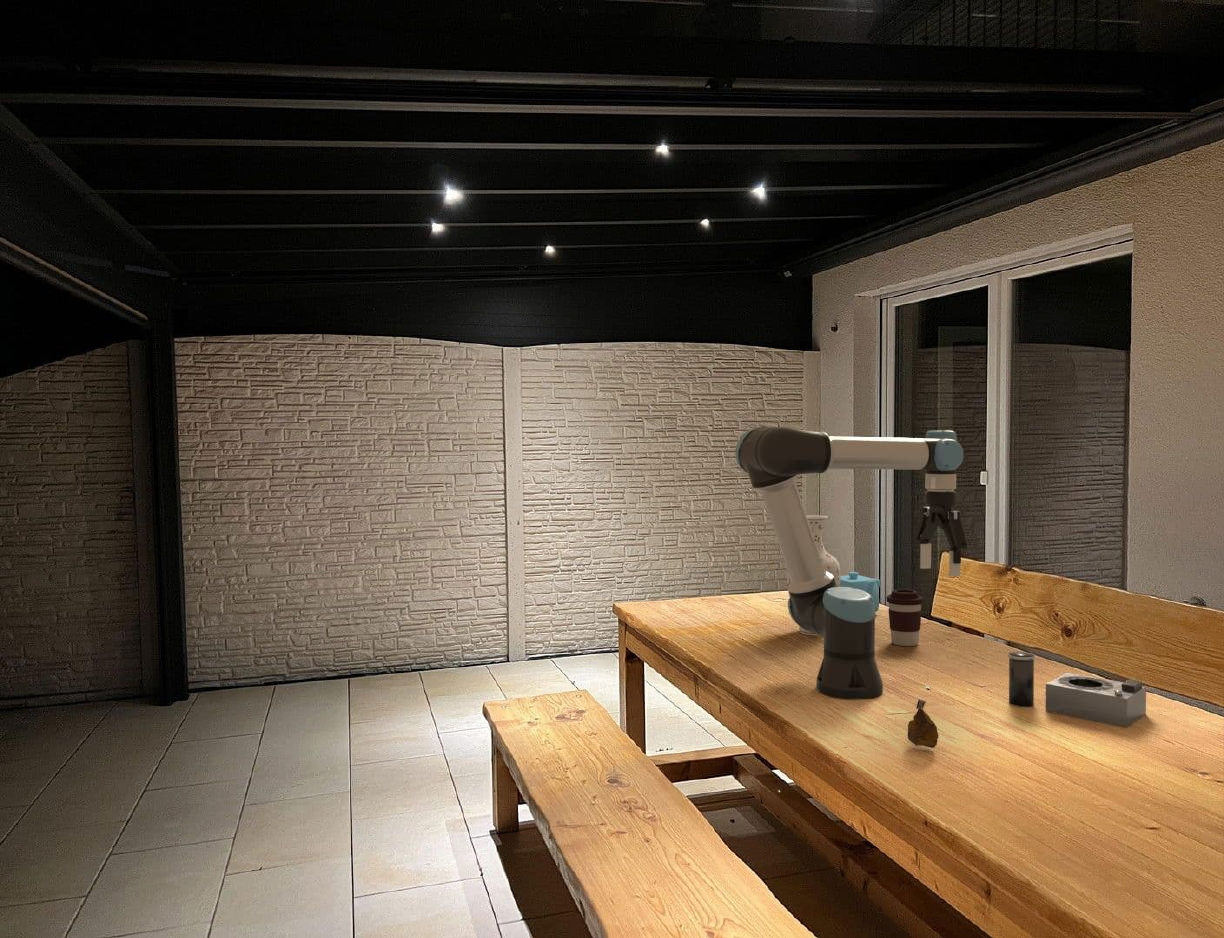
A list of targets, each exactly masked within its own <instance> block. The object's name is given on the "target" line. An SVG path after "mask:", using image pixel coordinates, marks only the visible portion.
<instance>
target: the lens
mask: <svg viewBox="0 0 1224 938" xmlns="http://www.w3.org/2000/svg"><path fill="white" fill-rule="evenodd" d="M1007 657H1008V677H1009V678H1008V682H1009V683H1008V702H1009V704H1010V705H1012V706H1015V707H1024V708H1025V707H1026V708H1028V707H1033V706H1034V703H1035V702H1034V700H1035V698H1034V696H1035V695H1034V694H1035V691H1034V690H1035V688H1034V687H1035V684H1034V683H1035V681H1034V680H1035V677H1034V676H1035V675H1034V674H1035V669H1034V668H1035V660H1036V655H1035V654H1034V653H1032V652H1026V651H1010V652H1008V654H1007Z"/></svg>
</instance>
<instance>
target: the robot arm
mask: <svg viewBox="0 0 1224 938" xmlns="http://www.w3.org/2000/svg"><path fill="white" fill-rule="evenodd" d="M734 455H735V460H736V463H737V464H738V466H739V468H740V469H741V470H742V471H744V472H745V473H747V474H748V478H749V481H750V483H751V486H752V488H753V490H755V491H758V492H760V493H761V496H762V499H763V502H764V504H765V508H766V510H767V513H768V516H769V518H770V522H771V525H772V527H773V531H774V533H775V537H776V539H777V542H778V545H779V548H780V551H781V554H782V557H783V560H784V563H785V567H786V570H787V569H788V572H789V575H790V578H791V583H790V584H789V586H788V585H787V592H788V591H789V593H788V595H789V594H790V596H789V598H788V600H787V610H788V613H789V615H790V619H792V621H793V622H794V623H795V624H796V625H798V627H799V626H800V627H802V628H803V629H804V630H807V631H809V632H812V633H815V634H817V635H816V636H820V637H823V658H822V661H821V664H820V667H819V670H818V674H817V677H816V681H815V683H816V690H817V692H818V693H821V694H823V695H825V696H828V697H833V698H838V699H849V700H852V699H853V700H862V699H863V700H864V699H866V700H867V699H872V698H876V697H879V696H881V695H882V694H883V692H884V691H883V689H884V687H883V686H884V684H883V683H884V682H883V679H882V676H881V674H880V671H879V667H878V664H877V661H876V658H875V657H876V655H875V654H876V649H875V648H876V642H875V641H876V637H875V636H876V635H875V634H876V632H875V631H876V629H875V628H876V625H875V624H876V622H875V621H876V612H877V611H876V612H875V605H874V599H873V597H872V596H871V595H870V594H869V593H867V592H865V591H863V590H860V589H853V588H850V587H837V585H836V582H835V579H834V576H833V574H831V573H829V572H827V571H825V569H824V566H823V563H822V560H821V557H820V554H819V552H818V549H817V546H816V543H815V540H814V537H813V534H812V531H811V528H810V525H809V522H808V519H807V516H806V515H807V514H806V510H805V507H804V503H803V502H802V499H801V495H800V492H799V490H798V486H797V484H796V480H797V477H798V476H799V475H806V474H824V473H826V472H827V471H828V470H918V471H919V470H921V471H925V477H924V479H925V480H924V482H925V486H924V487H925V489H926V491H925V494H924V496H925V499H924V501H925V505H926V506H923V507H922V508H921V516H920V519H919V523H918V526H917V530H916V533H915V536H914V539H915V541H918V543H919V545H920V546H919V548H920V549H919V550H920V551H919V553H920V556H919V557H920V561H919V563H920V565H919V568H920V569H923V570H924V569H931V568H932V537H933V536H934V534H935V532H936V531H937V528H940V529H942V530H943V533H944V535H945V537H946V540H947V542H948V544H949V547H950V548H949V551H948V554H949V555H948V556H949V558H948V577H950V578H952V577H953V578H954V577H955V578H956V577H957V578H958V577H961V563H962V551H963V550H966V549H968V544H967V540H966V537H965V533H964V529H963V525H962V522H961V512H960V510H953V508H952V507H954V506H956V505H957V492H956V491H954V490H956V489H957V469H958V468H959V466H960V465H961V464H962V463H963V459H964V449H963V447H962V445H961V443H959V442H958V438H957V433H956V431H953V430H928V431H926V433H925V437H924V438H921V437H920V438H919V437H918V438H917V437H915V438H913V437H911V438H910V437H868V436H865V437H864V436H862V437H861V436H832V435H831V436H829V434H827V433H826V432H825V431H813V430H812V431H811V430H805V429H804V430H803V429H800V428H799V429H798V428H794V427H793V428H792V427H787V426H765V425H764V426H758V427H754V428H751V429H748V430H746V431H745V432H744V433H742V435H741V436H740V437H739V439H738V441H737V443H736V446H735V453H734Z"/></svg>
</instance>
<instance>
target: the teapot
mask: <svg viewBox="0 0 1224 938" xmlns="http://www.w3.org/2000/svg"><path fill="white" fill-rule="evenodd" d="M840 587H850V588H853V589H860V590H863V591H865V592H867V593H869V594H870V595H871V596H872V597H873V599H874V605H875V612H879V608H880V598H879V588H880V587H881V580H880V579H878V578H872V577H867V576H864V575H859V572H857V571H849V572H848V574H847V575H841V578H840Z"/></svg>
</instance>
